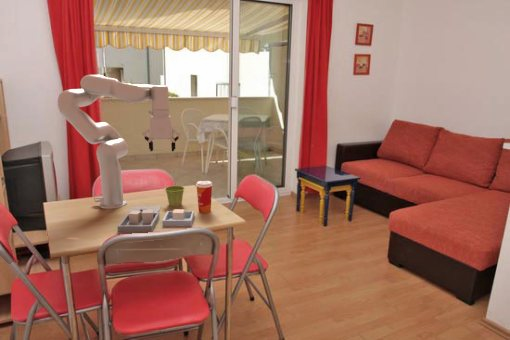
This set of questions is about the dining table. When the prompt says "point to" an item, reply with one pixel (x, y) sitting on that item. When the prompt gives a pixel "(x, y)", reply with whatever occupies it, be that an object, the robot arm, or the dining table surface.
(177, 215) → the cream cube
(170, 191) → the plant pot
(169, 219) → the bin
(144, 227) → the bin
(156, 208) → the lid board
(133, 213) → the stone
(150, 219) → the stone
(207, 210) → the paper cup
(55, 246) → the dining table surface
